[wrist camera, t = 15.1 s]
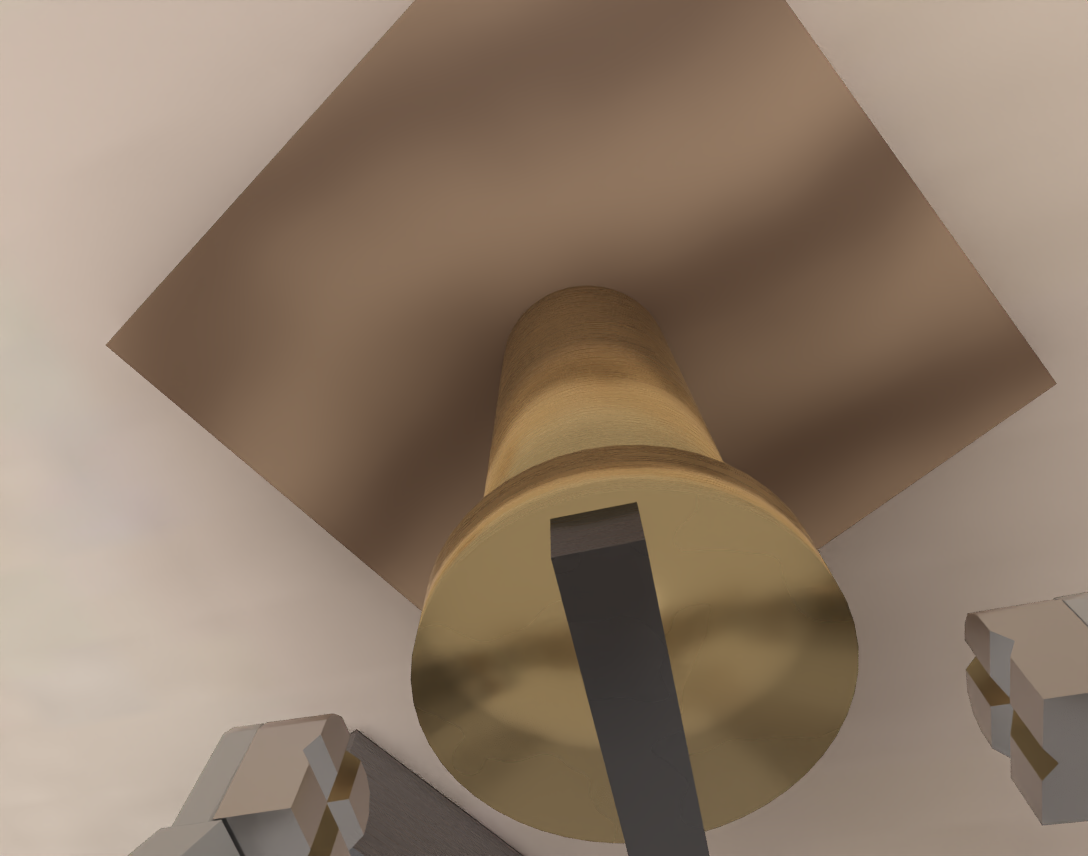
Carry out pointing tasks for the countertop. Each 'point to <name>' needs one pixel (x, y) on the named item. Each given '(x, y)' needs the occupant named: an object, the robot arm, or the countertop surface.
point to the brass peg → (624, 603)
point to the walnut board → (580, 267)
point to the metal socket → (414, 814)
